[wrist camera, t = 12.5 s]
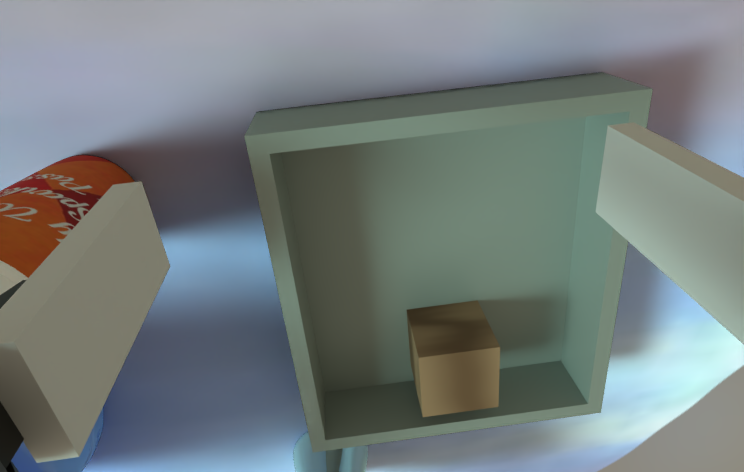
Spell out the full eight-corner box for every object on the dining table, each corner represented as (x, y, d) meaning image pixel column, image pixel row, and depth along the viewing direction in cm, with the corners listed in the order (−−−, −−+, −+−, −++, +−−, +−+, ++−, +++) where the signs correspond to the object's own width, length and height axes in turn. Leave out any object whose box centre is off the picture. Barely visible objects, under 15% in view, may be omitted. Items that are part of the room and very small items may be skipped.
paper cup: (172, 160, 29) (61, 293, 17) (150, 268, 32) (43, 450, 20) (25, 116, 27) (-222, 229, 15) (17, 236, 30) (-194, 413, 18)
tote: (256, 111, 28) (244, 136, 24) (602, 72, 29) (652, 88, 25) (313, 398, 38) (312, 452, 34) (569, 363, 39) (600, 412, 35)
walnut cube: (410, 364, 37) (422, 417, 33) (406, 309, 35) (418, 357, 30) (477, 355, 37) (498, 406, 33) (477, 300, 35) (500, 346, 30)
